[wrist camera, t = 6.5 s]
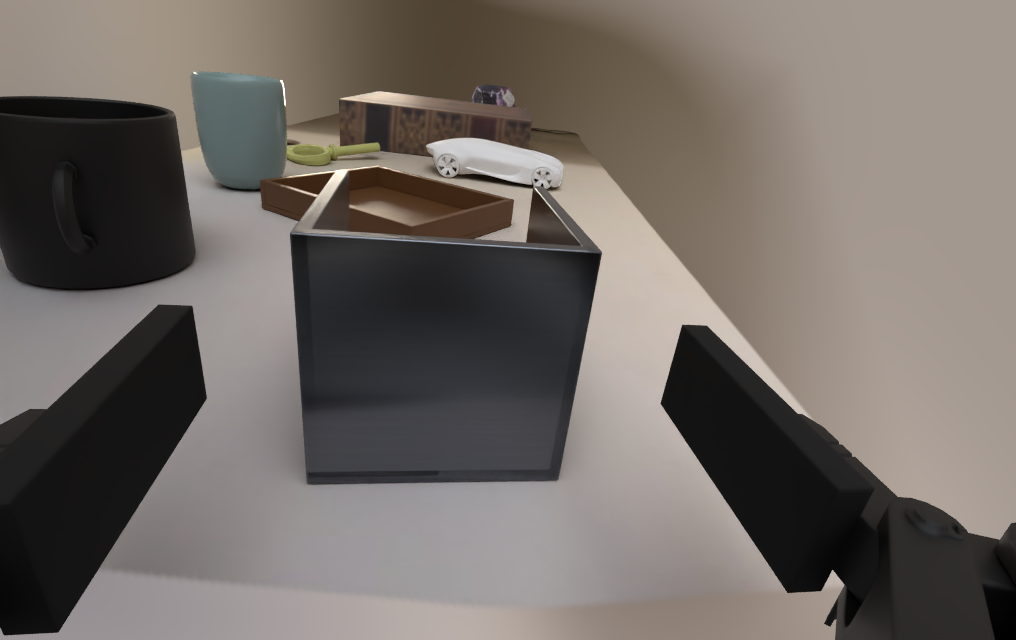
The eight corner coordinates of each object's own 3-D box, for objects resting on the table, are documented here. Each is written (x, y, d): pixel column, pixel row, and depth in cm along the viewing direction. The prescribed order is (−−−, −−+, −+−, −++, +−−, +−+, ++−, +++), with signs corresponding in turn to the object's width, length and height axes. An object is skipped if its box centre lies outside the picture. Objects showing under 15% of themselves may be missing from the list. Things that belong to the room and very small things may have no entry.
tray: (261, 208, 47) (259, 179, 46) (377, 188, 59) (377, 165, 57) (411, 259, 40) (412, 226, 39) (511, 225, 51) (514, 199, 50)
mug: (-35, 319, 26) (-107, 119, 22) (33, 240, 35) (-8, 91, 31) (192, 303, 30) (165, 132, 26) (198, 236, 39) (179, 103, 35)
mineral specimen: (485, 125, 110) (479, 75, 109) (465, 139, 119) (459, 92, 118) (526, 126, 114) (521, 78, 113) (503, 139, 123) (498, 94, 122)
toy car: (561, 180, 74) (566, 146, 72) (560, 192, 67) (566, 155, 65) (433, 164, 75) (434, 130, 73) (419, 174, 68) (420, 136, 66)
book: (526, 167, 81) (531, 121, 78) (340, 146, 80) (339, 99, 77) (524, 145, 103) (529, 108, 100) (378, 128, 102) (378, 91, 100)
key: (384, 159, 74) (384, 143, 73) (309, 167, 65) (308, 149, 64) (348, 150, 78) (347, 134, 77) (272, 156, 68) (270, 139, 67)
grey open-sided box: (558, 480, 20) (602, 251, 16) (306, 484, 19) (289, 232, 15) (520, 359, 28) (543, 186, 24) (342, 354, 27) (336, 169, 23)
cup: (209, 175, 56) (196, 69, 51) (290, 178, 58) (284, 78, 54) (198, 193, 49) (182, 74, 45) (290, 196, 52) (283, 83, 48)
